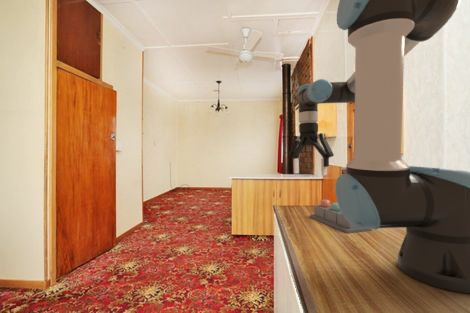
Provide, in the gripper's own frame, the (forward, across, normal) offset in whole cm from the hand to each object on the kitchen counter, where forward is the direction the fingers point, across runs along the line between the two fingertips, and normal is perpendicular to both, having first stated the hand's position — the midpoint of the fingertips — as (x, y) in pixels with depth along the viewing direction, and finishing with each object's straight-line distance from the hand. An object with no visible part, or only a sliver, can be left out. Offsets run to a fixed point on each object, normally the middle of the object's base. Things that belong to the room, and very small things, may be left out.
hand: (309, 174), depth 95 cm
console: (+18, -10, -3) cm, 21 cm away
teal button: (+15, -10, -3) cm, 19 cm away
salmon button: (+15, -4, -5) cm, 17 cm away
